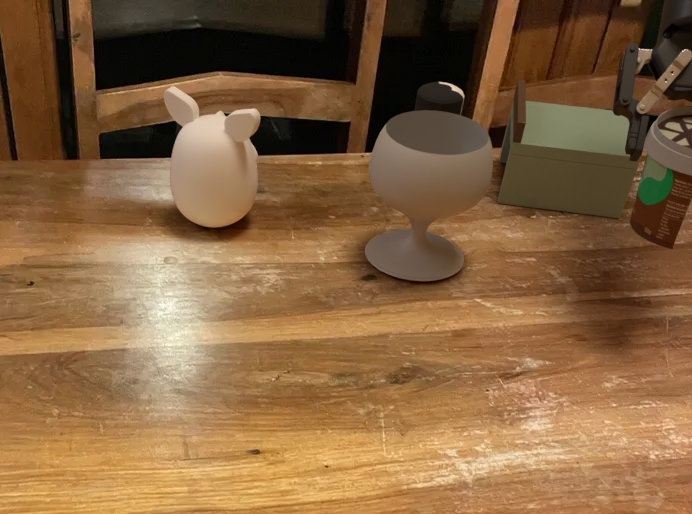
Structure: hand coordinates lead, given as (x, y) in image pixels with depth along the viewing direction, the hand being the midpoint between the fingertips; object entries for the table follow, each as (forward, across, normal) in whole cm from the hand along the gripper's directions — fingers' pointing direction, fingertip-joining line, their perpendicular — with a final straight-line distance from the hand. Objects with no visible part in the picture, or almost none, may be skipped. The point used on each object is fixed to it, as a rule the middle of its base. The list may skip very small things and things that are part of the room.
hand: (674, 162), depth 93 cm
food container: (+4, 0, +5) cm, 7 cm away
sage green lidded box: (-10, -6, +36) cm, 38 cm away
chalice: (+7, -24, +19) cm, 31 cm away
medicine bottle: (-8, -24, +34) cm, 42 cm away
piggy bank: (+5, -50, +21) cm, 54 cm away
